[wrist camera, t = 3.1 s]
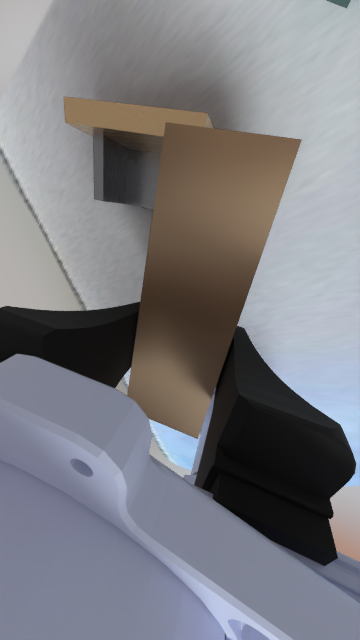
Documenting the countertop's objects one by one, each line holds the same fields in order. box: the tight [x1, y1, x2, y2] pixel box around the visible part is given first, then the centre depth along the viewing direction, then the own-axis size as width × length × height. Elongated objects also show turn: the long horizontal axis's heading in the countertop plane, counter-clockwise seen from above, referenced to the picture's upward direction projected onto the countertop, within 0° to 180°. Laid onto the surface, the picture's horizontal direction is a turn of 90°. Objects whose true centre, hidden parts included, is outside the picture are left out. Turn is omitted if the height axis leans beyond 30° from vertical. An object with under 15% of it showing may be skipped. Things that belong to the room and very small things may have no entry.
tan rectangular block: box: [127, 122, 301, 439], centre depth 11 cm, size 12×4×5 cm, turn 170°
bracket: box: [64, 97, 214, 210], centre depth 16 cm, size 5×9×6 cm, turn 80°
